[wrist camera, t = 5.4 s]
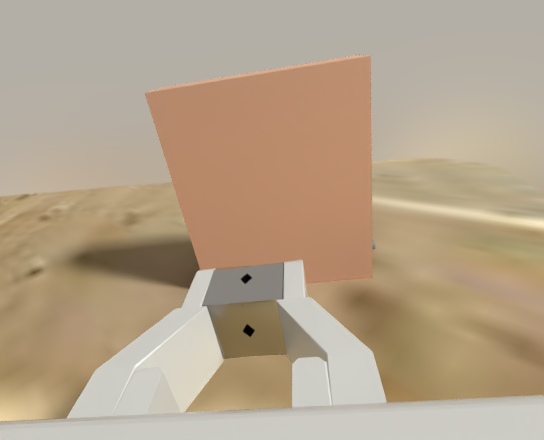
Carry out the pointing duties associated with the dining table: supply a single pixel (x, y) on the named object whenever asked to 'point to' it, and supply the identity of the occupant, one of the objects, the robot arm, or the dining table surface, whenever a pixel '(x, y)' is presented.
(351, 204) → the board
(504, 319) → the dining table surface
